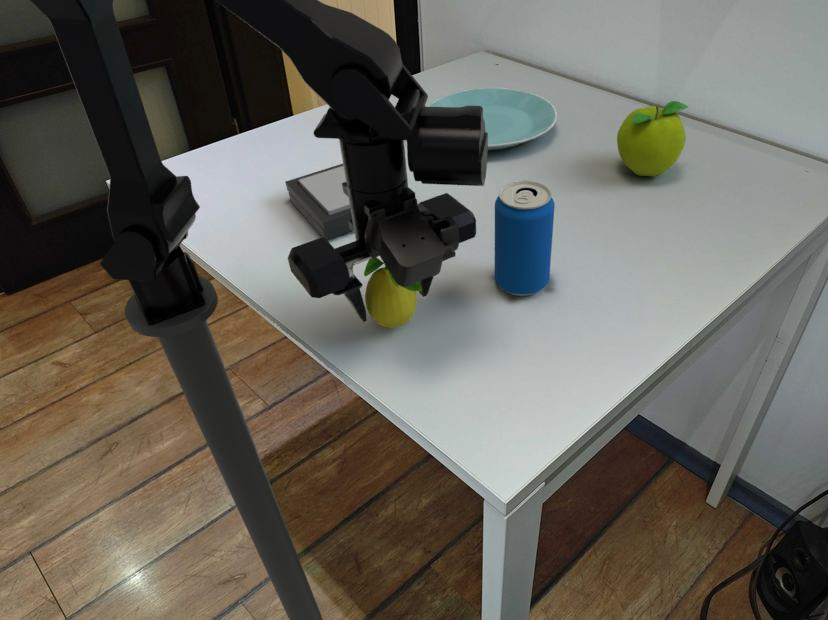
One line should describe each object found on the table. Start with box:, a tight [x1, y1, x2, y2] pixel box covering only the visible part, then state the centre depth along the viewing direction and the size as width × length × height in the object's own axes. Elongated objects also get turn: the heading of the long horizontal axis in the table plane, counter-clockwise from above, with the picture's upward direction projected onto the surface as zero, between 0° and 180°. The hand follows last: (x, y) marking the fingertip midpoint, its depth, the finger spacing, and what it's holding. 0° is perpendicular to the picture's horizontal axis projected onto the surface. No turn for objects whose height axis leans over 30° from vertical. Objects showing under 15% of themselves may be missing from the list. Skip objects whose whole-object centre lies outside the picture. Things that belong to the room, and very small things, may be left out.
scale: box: [285, 163, 353, 241], centre depth 92 cm, size 13×13×3 cm
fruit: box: [616, 100, 689, 177], centre depth 95 cm, size 9×9×10 cm
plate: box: [426, 86, 558, 151], centre depth 108 cm, size 22×22×3 cm
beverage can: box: [494, 180, 556, 297], centre depth 75 cm, size 6×6×12 cm
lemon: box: [363, 257, 422, 328], centre depth 71 cm, size 7×6×10 cm
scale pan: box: [298, 166, 350, 216], centre depth 92 cm, size 10×10×2 cm
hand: (393, 307), depth 73 cm, fingers open, 7 cm apart
